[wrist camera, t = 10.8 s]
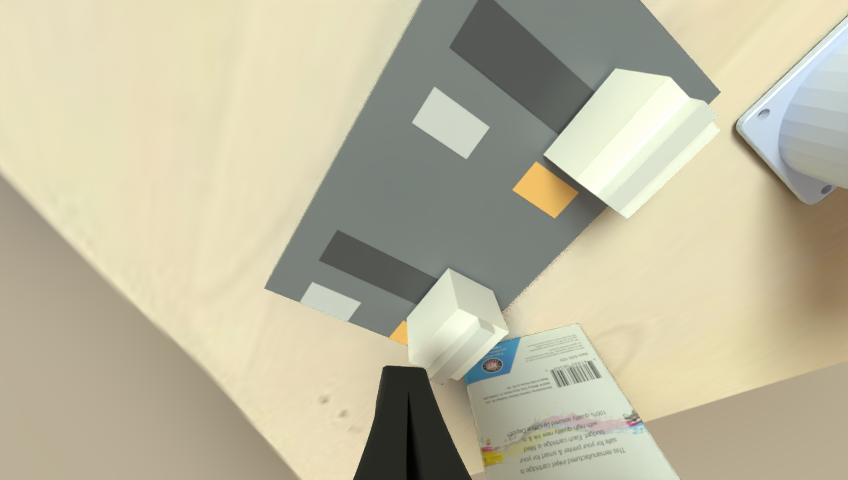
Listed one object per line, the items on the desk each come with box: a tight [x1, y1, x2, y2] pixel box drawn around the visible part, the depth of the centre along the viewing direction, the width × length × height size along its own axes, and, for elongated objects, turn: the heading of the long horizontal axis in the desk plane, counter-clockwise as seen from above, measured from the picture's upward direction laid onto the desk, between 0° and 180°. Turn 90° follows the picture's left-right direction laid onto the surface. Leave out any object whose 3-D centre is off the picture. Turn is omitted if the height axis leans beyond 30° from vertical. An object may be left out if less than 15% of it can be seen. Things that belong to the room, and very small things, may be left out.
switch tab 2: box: [544, 68, 720, 219], centre depth 13 cm, size 4×3×4 cm
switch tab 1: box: [407, 268, 509, 385], centre depth 17 cm, size 4×3×4 cm
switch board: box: [265, 0, 720, 346], centre depth 16 cm, size 19×12×2 cm, turn 146°
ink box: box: [464, 324, 680, 480], centre depth 20 cm, size 8×8×12 cm
